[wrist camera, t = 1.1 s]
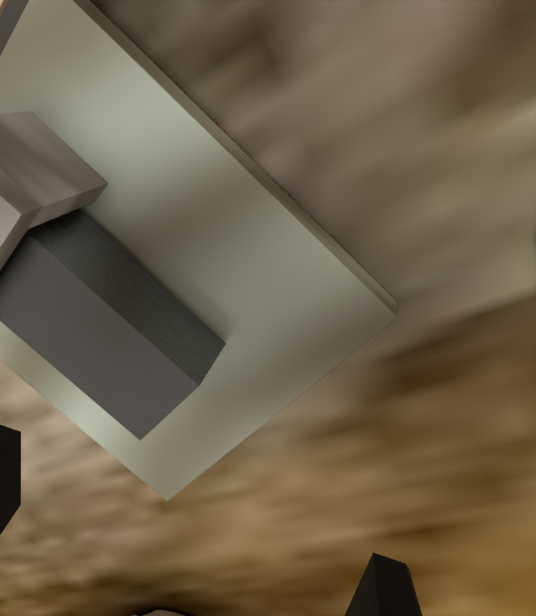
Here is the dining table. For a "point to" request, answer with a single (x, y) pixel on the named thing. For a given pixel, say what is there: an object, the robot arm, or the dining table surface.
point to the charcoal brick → (104, 321)
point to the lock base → (169, 234)
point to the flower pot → (162, 613)
